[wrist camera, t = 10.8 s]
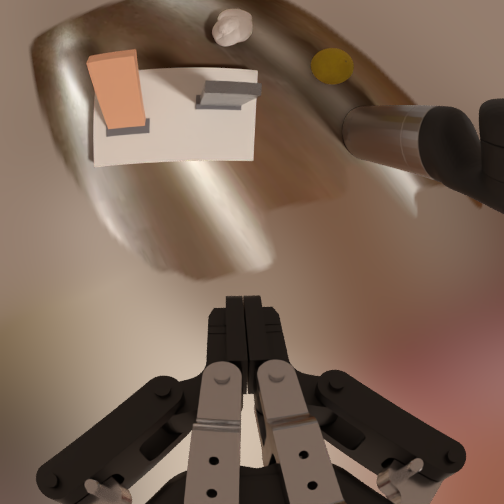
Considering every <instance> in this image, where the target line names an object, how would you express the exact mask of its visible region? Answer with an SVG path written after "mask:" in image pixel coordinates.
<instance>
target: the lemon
mask: <svg viewBox="0 0 504 504" xmlns="http://www.w3.org/2000/svg"><path fill="white" fill-rule="evenodd" d="M353 69H354V65H353V61H352V59H351V57H350V56H349V55H348V54H347V53H346V52H344V51H343V50H340V49H336V48H328V49H324V50H321V51H319V52H318V53H317V54H316V55H315V56H314V57H313V59H312V61H311V70H312V73H313V75H314V76H315V77H316V78H317V79H318V80H319V81H321V82H323V83H325V84H331V85H333V84H339V83H342V82H344V81H346V80H347V79H348V78H349V77H350V76H351V74H352V73H353Z"/></svg>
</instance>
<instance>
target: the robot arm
mask: <svg viewBox="0 0 504 504" xmlns="http://www.w3.org/2000/svg"><path fill="white" fill-rule="evenodd" d="M479 130H480V140H479V138H478V135H477V132H476V130H475V128H474V126H473V124H472V122H471V121H470V119H469V118H468V117H467V116H466V114H465V113H463V112H462V111H461V110H459V109H456V108H454V107H446V106H425V105H424V106H421V105H385V106H360V107H357V108H355V109H353V110H351V111H350V112H349V113H348V115H347V116H346V118H345V120H344V123H343V128H342V135H343V140H344V143H345V145H346V147H347V149H348V150H349V152H350V153H351V154H352V155H354V156H355V157H356V158H359V159H361V160H366V161H370V162H374V163H377V164H381V165H385V166H389V167H393V168H396V169H400V170H403V171H407V172H410V173H414V174H417V175H420V176H424V177H427V178H430V179H433V180H436V181H439V182H442V183H443V184H444V185H445V186H447V187H448V188H450V189H453V190H455V191H457V192H460V193H462V194H464V195H467V196H469V197H471V198H473V199H475V200H477V201H479V202H481V203H483V204H485V205H487V206H489V207H491V208H493V209H495V210H497V211H499V212H501V213H503V214H504V99H491V100H488V101H486V102H484V103H483V104H482V105H481V107H480V110H479ZM247 386H248V394H254V401H255V405H254V412H255V417H256V422H257V427H258V432H259V437H260V442H261V447H262V459H263V465H264V467H262V468H250V467H245V466H240V441H241V411H242V408H243V394H246V392H247ZM191 430H192V435H191V443H190V452H189V460H188V469H187V471H185V472H182V473H180V474H178V475H176V476H174V477H173V478H172V479H170V480H169V481H168V482H167V483H166V484H165V485H164V486H163V487H162V488H161V489H160V490H159V491H158V492H157V493H156V494H155V495H154V496H153V497H152V498H151V499H150V500H149V501H148V502H146V503H145V504H430V502H431V501H432V498H433V497H434V496H435V494H436V492H437V490H438V489H439V487H440V485H441V483H442V481H443V480H444V479H446V478H447V477H449V476H451V475H453V474H454V473H456V472H458V471H459V470H460V469H461V468H462V467H463V466H464V464H465V461H466V452H465V449H464V447H463V446H462V445H461V444H460V443H459V442H457V441H455V440H454V439H452V438H450V437H448V436H447V435H445V434H443V433H441V432H440V431H438V430H436V429H434V428H433V427H431V426H429V425H427V424H426V423H424V422H423V421H421V420H419V419H418V418H416V417H414V416H413V415H411V414H409V413H408V412H406V411H405V410H403V409H401V408H400V407H398V406H396V405H395V404H393V403H392V402H390V401H388V400H387V399H385V398H383V397H382V396H381V395H379V394H377V393H376V392H374V391H373V390H371V389H370V388H368V387H367V386H365V385H363V384H362V383H360V382H359V381H357V380H356V379H354V378H353V377H351V376H350V375H348V374H347V373H345V372H343V371H340V370H330V371H326V372H325V373H323V374H322V375H321V376H314V375H308V374H304V373H301V372H299V371H297V370H296V369H295V368H294V367H293V366H292V365H291V364H290V362H289V359H288V355H287V349H286V345H285V340H284V336H283V332H282V327H281V322H280V318H279V314H278V313H277V312H276V311H275V309H274V308H273V307H262V303H261V297H260V296H244V297H243V298H242V296H226V308H214V309H213V310H212V312H211V314H210V315H209V319H208V340H207V362H206V366H205V369H204V370H203V371H202V373H200V374H199V375H198V376H196V377H194V378H191V379H188V380H184V381H180V382H179V381H177V380H176V379H175V378H172V377H170V376H158V377H155V378H153V379H151V380H150V381H149V382H148V383H146V384H145V385H144V386H143V387H141V388H140V389H139V390H138V391H137V392H135V393H134V394H133V395H132V396H131V397H129V398H128V399H127V400H126V401H124V402H123V403H122V404H121V405H119V406H118V407H117V408H116V409H114V410H113V411H112V412H111V413H110V414H108V415H107V416H106V417H105V418H103V419H102V420H101V421H99V422H98V423H97V424H96V425H94V426H93V427H92V428H91V429H89V430H88V431H87V432H85V433H84V434H83V435H82V436H80V437H79V438H78V439H76V440H75V441H74V442H73V443H71V444H70V445H69V446H67V447H66V448H65V449H63V450H62V451H61V452H60V453H58V454H57V455H55V456H54V457H53V458H52V459H50V460H49V461H48V462H46V463H45V464H43V465H42V466H41V467H40V468H39V469H38V471H37V474H36V482H37V485H38V487H39V489H40V490H41V492H42V493H43V494H44V495H45V496H47V497H48V498H50V499H53V500H55V501H57V502H59V503H60V504H132V497H131V494H130V492H129V490H128V489H129V488H130V487H131V486H132V485H133V484H135V483H136V482H137V481H138V480H139V479H140V478H142V477H143V476H144V475H145V474H146V473H147V472H148V471H150V470H151V469H152V468H153V467H154V466H155V465H156V464H157V463H158V462H159V461H160V460H162V459H163V458H164V457H165V456H166V455H167V454H168V453H169V452H170V451H171V450H172V449H173V448H174V447H175V446H176V445H177V444H178V443H180V442H181V440H183V439H184V438H185V437H186V436H187V435H188V434H189V432H190V431H191ZM324 439H325V440H326V441H328V442H329V443H330V444H332V445H333V446H335V447H336V448H337V449H339V450H340V451H342V452H343V453H345V454H346V455H347V456H349V457H350V458H352V459H353V460H355V461H357V462H358V463H359V464H361V465H362V466H364V467H365V468H367V469H369V470H370V471H372V472H373V473H375V474H376V475H378V477H377V486H378V488H379V490H380V491H381V492H382V493H384V494H385V495H386V497H387V498H385V497H384V496H382V495H381V494H379V493H378V492H376V491H375V490H373V489H372V488H370V487H369V486H367V485H366V484H364V483H363V482H361V481H360V480H358V479H357V478H356V477H354V476H353V475H352V474H350V473H349V472H347V471H346V470H344V469H343V468H341V467H339V466H337V465H335V464H332V463H331V460H330V457H329V454H328V451H327V448H326V445H325V442H324Z"/></svg>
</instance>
